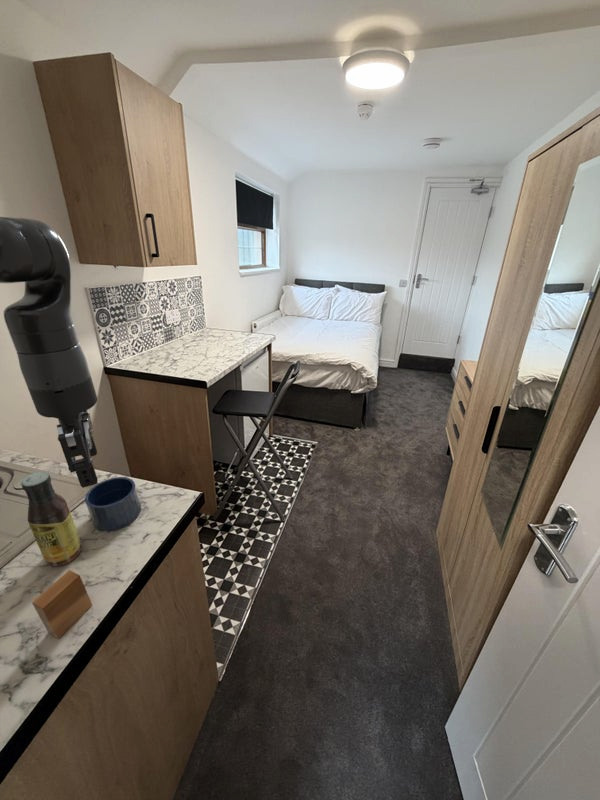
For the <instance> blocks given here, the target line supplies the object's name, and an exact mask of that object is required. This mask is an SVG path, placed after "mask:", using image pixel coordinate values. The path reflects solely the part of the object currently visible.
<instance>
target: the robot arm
mask: <svg viewBox="0 0 600 800" xmlns="http://www.w3.org/2000/svg"><path fill="white" fill-rule="evenodd" d="M71 267H72V266H71V259H70V255H69V252H68V249H67V248H66V245H65V243H64V241H63V240H62V237H60V235H59V234H58V233H57V232H56V231H55V230H54V229H53V228H52V227H51V226H50V225H49V224H47V223H45V222H43V221H41V220H37V219H34V218H23V217H10V216H9V217H7V216H0V284H18V283H24V294H23V296H22V298H21V299H19V300H17V301H15V302H13V303H11V304H9V305H7V306H6V307H5V309H4V310H3V319H4V323H5V325H6V328H7V331H8V334H9V336H10V339H11V342H12V344H13V347H14V349H15V351H16V354H17V355H16V356H17V358H18V364H19V368H20V369H19V370H20V371H21V374H22V377H23V379H24V382H25V384H26V385H25V386H26V387H27V390H28V392H29V394H30V397H31V400H32V404H33V406H34V408H35V411H36V412H37V414H38V415H40V416H41V417H44V418H54V419H57V420H58V424H56V429H57V430H56V431H57V434H58V435H57V436H58V437H57V441H58V442H59V444H60V447H61V450H62V452H63V455H64V458H65V461H66V464H67V468H68V471H69V472H70V474H73V473H75V474H76V477H77V481H78V483H79V485H80V488H87V487H91V486H95V485H97V484H98V476H97V474H96V470H95V467H94V464H93V462H94V460H93V458H92V457H95V456H97V455H98V449H97V447H96V444H95V441H94V437H93V433H94V430H93V429H94V428H93V427H94V426H93V422H92V419H91V414H90V411H88V410H90V409H92V408H93V407H94V406H95V405H96V404H97V402H98V396H97V392H96V389H95V385H94V382H93V378H92V375H91V371H90V368H89V364H88V361H87V358H86V356H85V353H84V352H83V349H82V347H81V344H80V341H79V337H78V335H77V331H76V328H75V325H74V321H73V317H72V311H71V309H72V308H71V307H72V268H71ZM80 456H81V457H82V458H79V459H76V457H80Z"/></svg>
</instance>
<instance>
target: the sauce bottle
mask: <svg viewBox="0 0 600 800" xmlns="http://www.w3.org/2000/svg"><path fill="white" fill-rule="evenodd" d="M20 485H21V488H22V490H23V491H24V492H25V494H26V496H27V499H28V507H27V509H28V510H27V523H28V525H29V528H30V530H31V532H32V535H33V537H34V539H35V541H36V544H37V546H38V548H39V551H40V553H41V556H42V558H43V559H44V561H45V562H46V563H47V565H49V566H51V567H60V566H65V565H67V564H69V563H70V562H72V561H73V560H74V559H76V557H78V555H79V554H80V552H81V550H82V544H81V539H80V536H79V533H78V530H77V528H76V525H75V521H74V518H73V516H72V514H71V510H70V508H69V507H68V503H67V501H66V499H65V498H64V497H63V496H62V495H60V494H58V493H57V492H55V489H54V487H53V485H52V478H51V476H50V474H49V472H46V471H37V472H33V473H30V474H29V475H26V476H25V477H24V478H23V479H22V480H21V484H20Z"/></svg>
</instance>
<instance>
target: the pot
mask: <svg viewBox="0 0 600 800" xmlns="http://www.w3.org/2000/svg"><path fill="white" fill-rule="evenodd" d="M137 490H138V489H137V487H136V483H135V481H134V480H133V479H131V478H130V477H127V476H120V477H119V476H117V477H111V478H107V479H105V480H103V481H100V482H97V484H95V485H93V487H91V488H90V489H89V490H88V491H87V492H86V494H85V497H84V502H85V505H86V508H87V511H88V513H89V515H90V519H91V521H92V524H93V527H94V528H95V529H97V530H98V531H100V532H115V531H117V530H121V529H123V528H126V527H127V526H129V525H131V524H132V523H133V522H134V521H136V519H138V517H139V516H140V514H141V511H142V505H141V501H140V497H139V494H138V491H137Z"/></svg>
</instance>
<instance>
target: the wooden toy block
mask: <svg viewBox="0 0 600 800" xmlns="http://www.w3.org/2000/svg"><path fill="white" fill-rule="evenodd" d="M88 593H89V592H88V591H87V589H86V586H85V584H84V582H83V580H82V578H81V575H80V574H79V573H76V572H75V571H72V570H71V569H68V571H66V572H65V573H64V574H62V575H61V577H59V578H58V579H57V580H56V581H55V582H53V583H52V584H51V585H50V586H49V587H48V588H46V589H45V590H44V591H43V592H42V593H41V594H40V595H38V596H37V597H36V598H35V599H34V600H33V601H32V602H31V604H32V606H33V607H34V609H35V612H36V613H37V615H38V617H39V618H40V620H41V622H42V623H43V626H44V627H45V629H46V631H47V633H48V634H49V635H51V636H52V637H54V638H56V639H57V640H60V638H62V637H63V636H64V635H65V633H67V632H68V631H69V630H70V629H71V627H73V626H74V624H75V623H76V622H77V621H78V620H79V619H80V618H81V617H82V616H83V615H84V614H85V613H86V612H87V611H88V610H89V609H90V608H91V607H92V606H93V603H92V600H91V598H90V595H89V594H88Z"/></svg>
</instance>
